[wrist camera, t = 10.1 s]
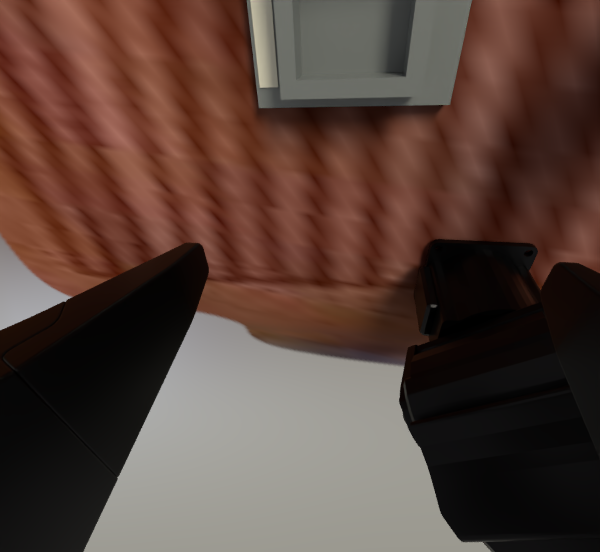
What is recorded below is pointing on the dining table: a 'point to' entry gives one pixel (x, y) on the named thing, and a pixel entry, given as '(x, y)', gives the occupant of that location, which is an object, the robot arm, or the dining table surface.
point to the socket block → (356, 51)
